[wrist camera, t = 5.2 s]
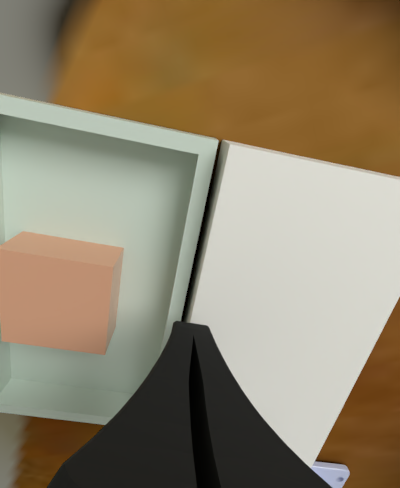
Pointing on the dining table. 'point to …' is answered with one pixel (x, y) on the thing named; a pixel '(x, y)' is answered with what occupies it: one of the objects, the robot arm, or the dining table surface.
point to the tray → (101, 242)
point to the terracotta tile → (59, 292)
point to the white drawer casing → (296, 282)
